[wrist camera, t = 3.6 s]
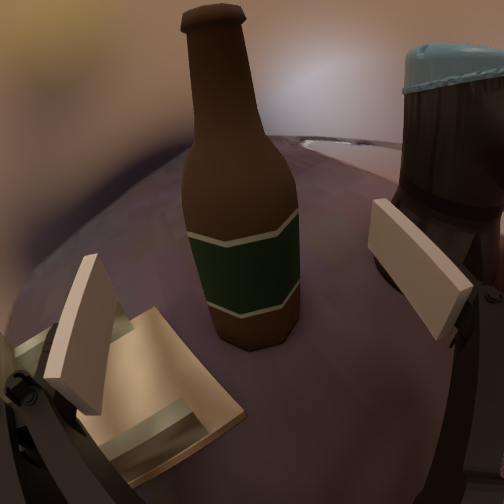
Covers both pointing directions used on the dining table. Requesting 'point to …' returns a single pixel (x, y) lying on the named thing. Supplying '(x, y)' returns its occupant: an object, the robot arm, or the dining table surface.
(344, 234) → the dining table surface
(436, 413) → the dining table surface
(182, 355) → the wooden display stand
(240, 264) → the beer bottle
